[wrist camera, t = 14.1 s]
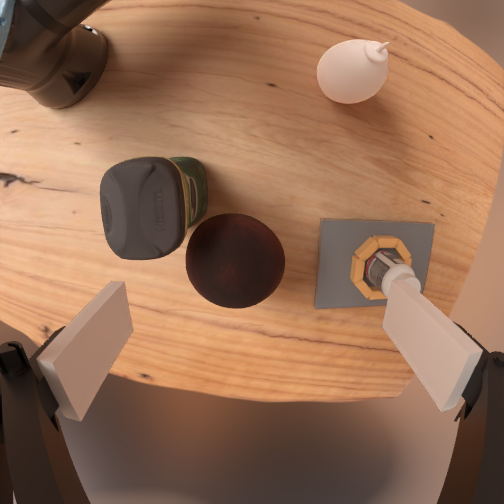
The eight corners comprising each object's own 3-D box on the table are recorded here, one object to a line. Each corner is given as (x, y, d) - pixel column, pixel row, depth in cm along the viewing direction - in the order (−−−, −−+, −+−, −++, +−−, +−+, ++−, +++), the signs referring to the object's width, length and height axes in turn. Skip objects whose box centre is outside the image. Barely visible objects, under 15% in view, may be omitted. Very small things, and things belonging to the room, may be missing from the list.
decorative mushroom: (206, 278, 44) (189, 331, 29) (194, 206, 40) (166, 229, 26) (278, 269, 43) (293, 320, 29) (271, 196, 40) (284, 213, 26)
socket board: (320, 218, 41) (325, 222, 38) (430, 222, 42) (440, 226, 39) (313, 305, 45) (317, 314, 42) (417, 299, 46) (425, 306, 43)
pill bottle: (371, 288, 43) (398, 317, 34) (358, 261, 42) (385, 287, 33) (398, 269, 43) (429, 295, 33) (386, 243, 41) (419, 263, 32)
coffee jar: (152, 160, 38) (86, 160, 21) (206, 155, 38) (173, 147, 21) (157, 225, 41) (100, 269, 23) (210, 223, 41) (183, 267, 23)
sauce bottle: (364, 108, 36) (433, 82, 19) (315, 112, 37) (362, 79, 19) (352, 61, 34) (410, 13, 17) (303, 63, 34) (338, 5, 17)
